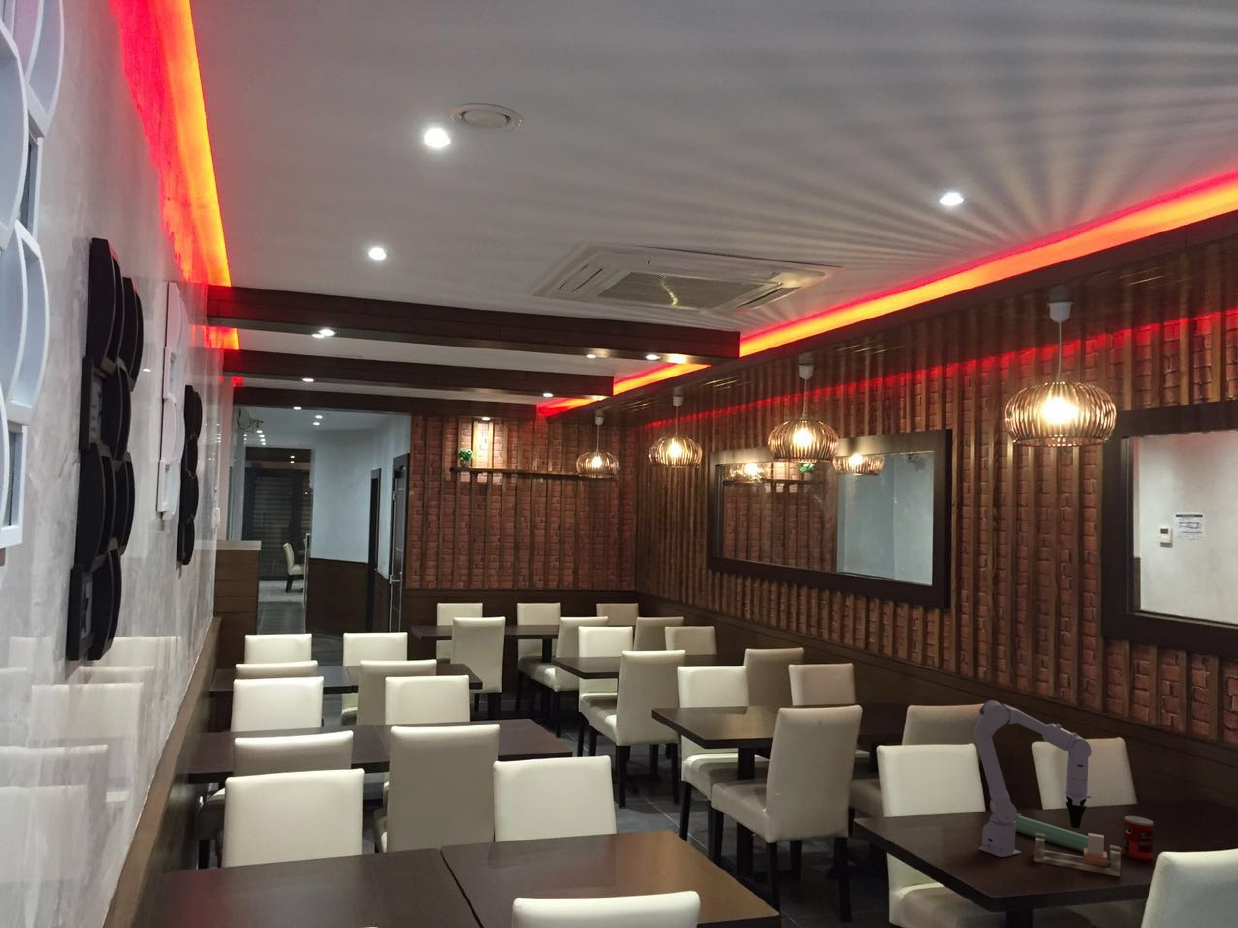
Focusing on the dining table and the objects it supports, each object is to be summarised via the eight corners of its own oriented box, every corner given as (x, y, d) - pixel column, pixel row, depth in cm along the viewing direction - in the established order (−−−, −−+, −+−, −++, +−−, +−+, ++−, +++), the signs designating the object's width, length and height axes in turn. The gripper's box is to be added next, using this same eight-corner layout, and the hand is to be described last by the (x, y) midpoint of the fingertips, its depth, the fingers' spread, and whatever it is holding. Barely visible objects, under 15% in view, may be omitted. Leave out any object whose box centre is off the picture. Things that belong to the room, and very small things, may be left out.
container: (1095, 832, 310) (1019, 809, 329) (1086, 842, 306) (1010, 819, 326) (1098, 849, 311) (1022, 825, 331) (1089, 860, 307) (1013, 835, 327)
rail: (1033, 860, 297) (1034, 837, 298) (1034, 853, 305) (1034, 830, 305) (1121, 876, 288) (1122, 852, 288) (1120, 868, 295) (1120, 844, 296)
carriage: (1083, 863, 293) (1084, 835, 293) (1083, 857, 299) (1084, 830, 299) (1107, 867, 291) (1107, 839, 291) (1106, 861, 296) (1107, 834, 297)
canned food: (1126, 850, 314) (1127, 813, 314) (1155, 856, 309) (1156, 820, 309) (1120, 855, 308) (1121, 818, 308) (1149, 862, 303) (1150, 824, 303)
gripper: (1092, 785, 294) (1090, 833, 293) (1091, 775, 307) (1089, 820, 306) (1065, 781, 297) (1063, 828, 296) (1066, 771, 310) (1064, 816, 309)
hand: (1075, 824), depth 301 cm, fingers open, 7 cm apart
